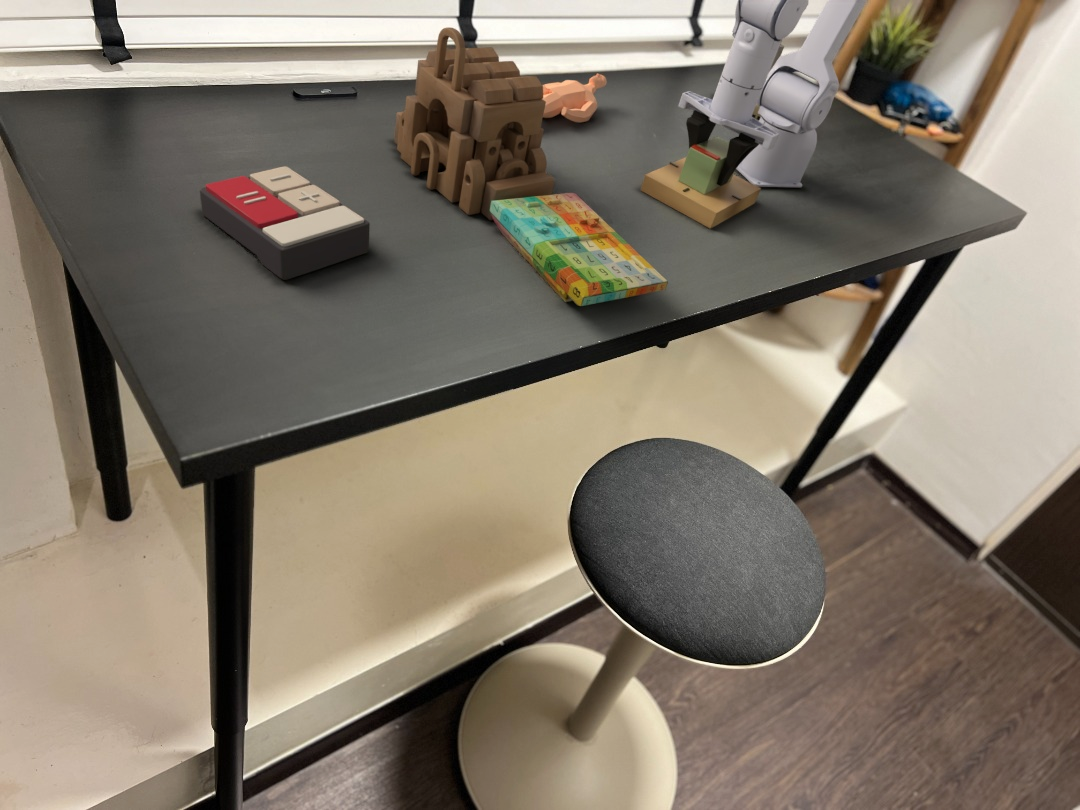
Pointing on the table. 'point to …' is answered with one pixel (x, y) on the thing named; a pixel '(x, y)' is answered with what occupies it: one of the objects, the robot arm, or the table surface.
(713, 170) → the box
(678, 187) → the tan flat block
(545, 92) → the male figurine
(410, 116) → the wooden puzzle
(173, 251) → the table surface
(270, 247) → the calculator
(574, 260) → the puzzle game
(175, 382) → the table surface
